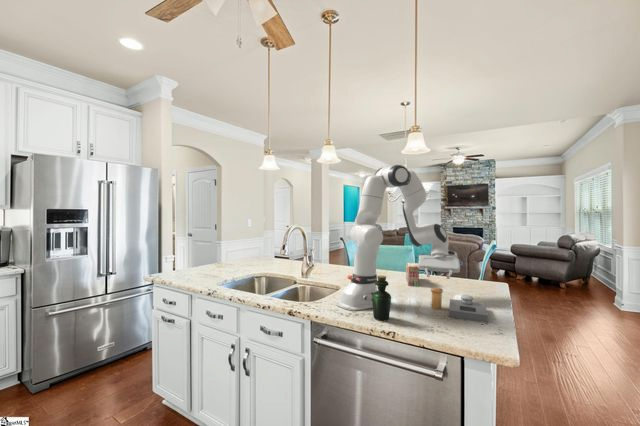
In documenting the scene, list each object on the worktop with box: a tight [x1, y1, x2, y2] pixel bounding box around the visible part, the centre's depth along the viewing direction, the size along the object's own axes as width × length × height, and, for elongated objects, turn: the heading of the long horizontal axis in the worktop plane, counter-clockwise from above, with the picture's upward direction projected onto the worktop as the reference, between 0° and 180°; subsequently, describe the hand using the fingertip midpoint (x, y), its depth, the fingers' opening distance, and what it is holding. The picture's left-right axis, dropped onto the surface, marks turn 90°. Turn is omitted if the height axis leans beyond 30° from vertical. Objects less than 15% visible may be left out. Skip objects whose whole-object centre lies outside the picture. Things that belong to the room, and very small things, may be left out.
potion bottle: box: [372, 275, 392, 322], centre depth 130 cm, size 8×8×18 cm
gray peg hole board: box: [448, 294, 489, 323], centre depth 138 cm, size 18×15×6 cm
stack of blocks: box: [405, 262, 420, 288], centre depth 195 cm, size 21×6×12 cm, turn 168°
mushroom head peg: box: [430, 287, 444, 311], centre depth 145 cm, size 5×5×9 cm
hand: (438, 277), depth 153 cm, fingers open, 8 cm apart
